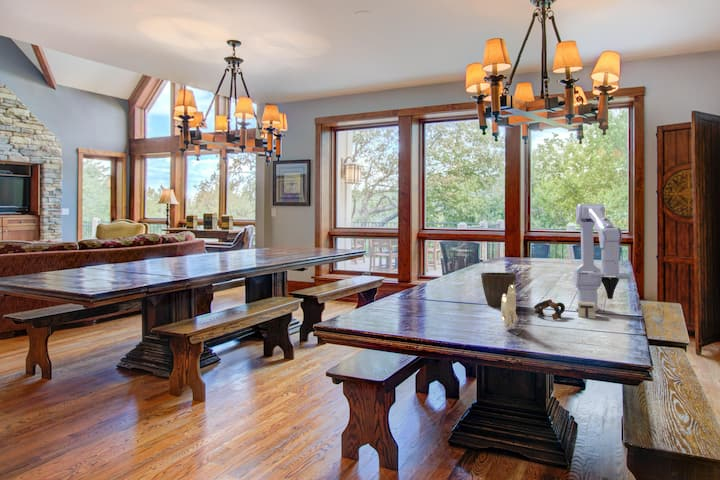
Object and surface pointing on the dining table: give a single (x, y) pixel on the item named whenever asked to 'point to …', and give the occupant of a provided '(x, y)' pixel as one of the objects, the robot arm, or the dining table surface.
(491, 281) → the plant pot
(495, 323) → the dining table surface
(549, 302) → the brown curved wooden piece
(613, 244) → the robot arm
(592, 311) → the letter cube
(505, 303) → the unicorn
